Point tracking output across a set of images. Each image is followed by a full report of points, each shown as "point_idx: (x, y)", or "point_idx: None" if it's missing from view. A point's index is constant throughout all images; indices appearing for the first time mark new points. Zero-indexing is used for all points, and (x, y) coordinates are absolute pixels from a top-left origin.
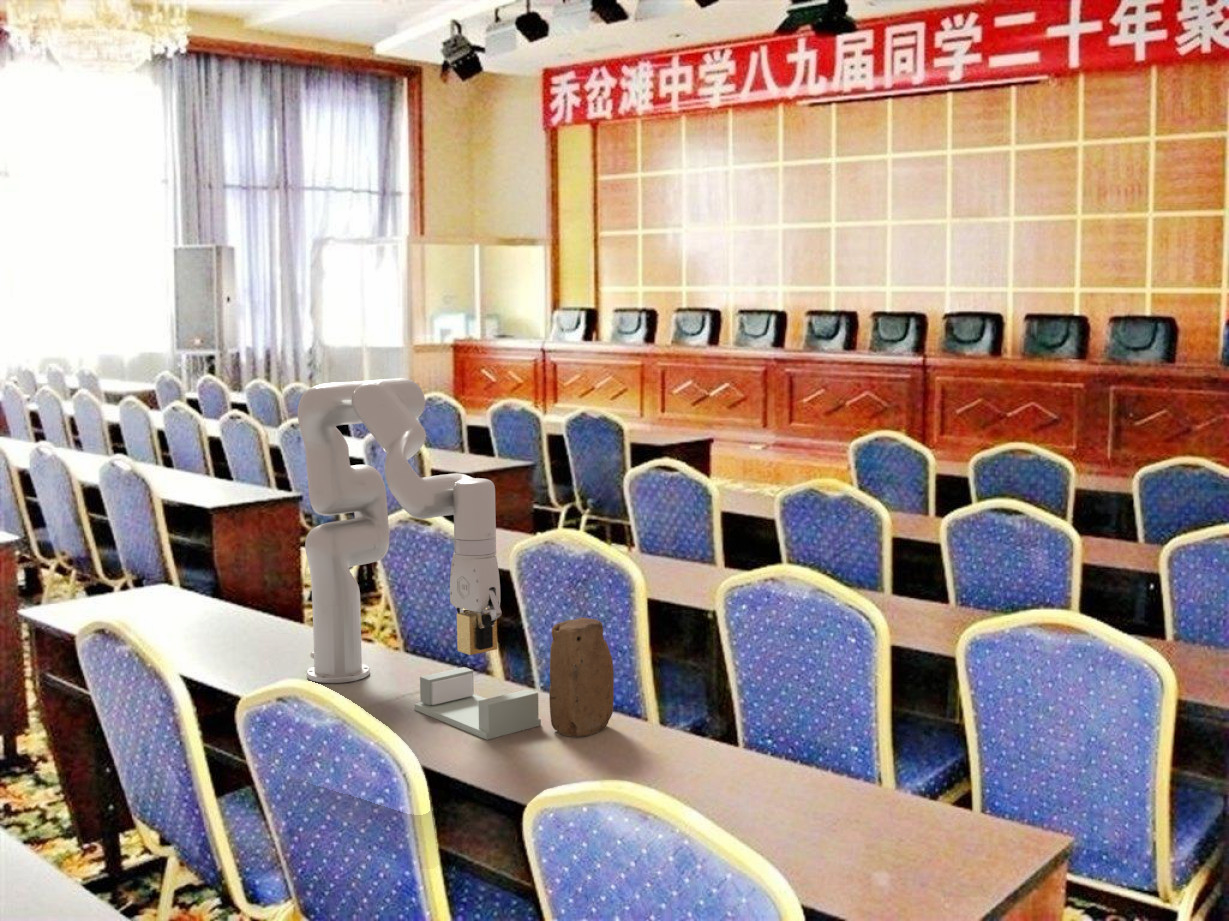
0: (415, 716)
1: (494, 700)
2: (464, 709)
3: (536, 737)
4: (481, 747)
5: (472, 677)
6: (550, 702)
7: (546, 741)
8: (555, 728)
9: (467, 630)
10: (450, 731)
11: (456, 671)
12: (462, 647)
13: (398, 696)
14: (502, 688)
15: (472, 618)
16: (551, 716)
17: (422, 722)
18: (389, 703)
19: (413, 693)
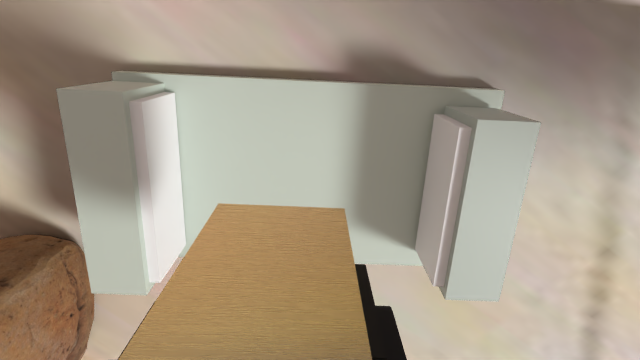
0: (446, 52)
1: (93, 139)
2: (343, 163)
3: (64, 182)
4: (70, 15)
5: (430, 277)
6: (13, 271)
7: (21, 180)
8: (52, 238)
9: (202, 286)
10: (255, 41)
11: (479, 255)
12: (290, 218)
13: (633, 133)
14: (450, 354)
15: None
16: (43, 250)
17: (384, 31)
18: (608, 72)
19: (614, 181)
